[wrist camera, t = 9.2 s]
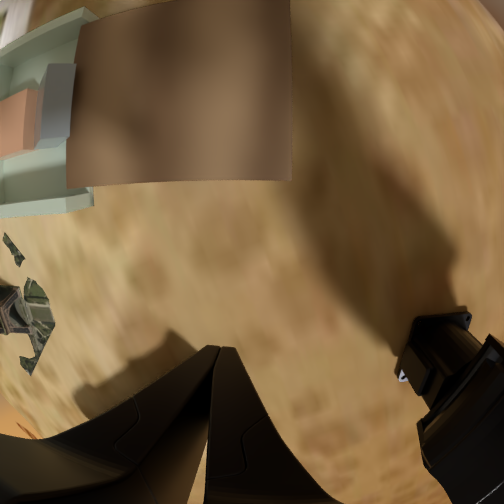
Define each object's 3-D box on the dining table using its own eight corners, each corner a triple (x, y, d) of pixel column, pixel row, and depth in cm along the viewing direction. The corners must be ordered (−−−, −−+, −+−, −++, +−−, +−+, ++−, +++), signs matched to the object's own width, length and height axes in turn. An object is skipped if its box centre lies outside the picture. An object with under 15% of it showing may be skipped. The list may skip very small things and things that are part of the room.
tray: (105, 23, 15) (84, 6, 12) (93, 205, 19) (66, 213, 16) (12, 63, 15) (-11, 56, 12) (4, 213, 19) (-22, 220, 16)
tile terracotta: (-7, 105, 14) (7, 107, 16) (-11, 161, 16) (4, 160, 17) (27, 88, 14) (42, 91, 16) (22, 149, 15) (38, 149, 17)
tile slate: (76, 63, 13) (48, 63, 11) (69, 136, 14) (40, 138, 13) (61, 87, 16) (38, 87, 14) (56, 147, 17) (33, 150, 16)
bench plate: (286, 16, 15) (289, -6, 12) (287, 179, 18) (291, 180, 15) (100, 38, 15) (81, 25, 12) (90, 185, 18) (66, 189, 16)
